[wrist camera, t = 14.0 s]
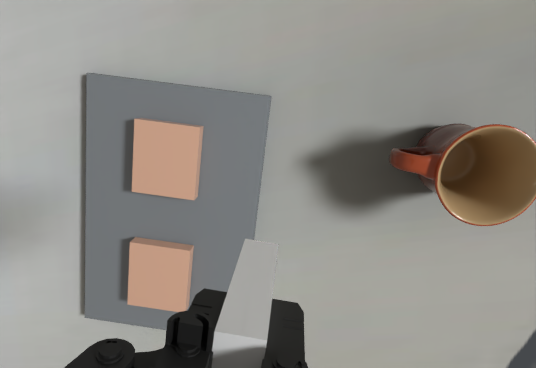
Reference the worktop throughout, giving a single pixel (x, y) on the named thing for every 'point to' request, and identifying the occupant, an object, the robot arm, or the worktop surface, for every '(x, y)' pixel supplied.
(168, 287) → the tile
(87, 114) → the mat
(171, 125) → the tile
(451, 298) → the worktop surface
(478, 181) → the mug
